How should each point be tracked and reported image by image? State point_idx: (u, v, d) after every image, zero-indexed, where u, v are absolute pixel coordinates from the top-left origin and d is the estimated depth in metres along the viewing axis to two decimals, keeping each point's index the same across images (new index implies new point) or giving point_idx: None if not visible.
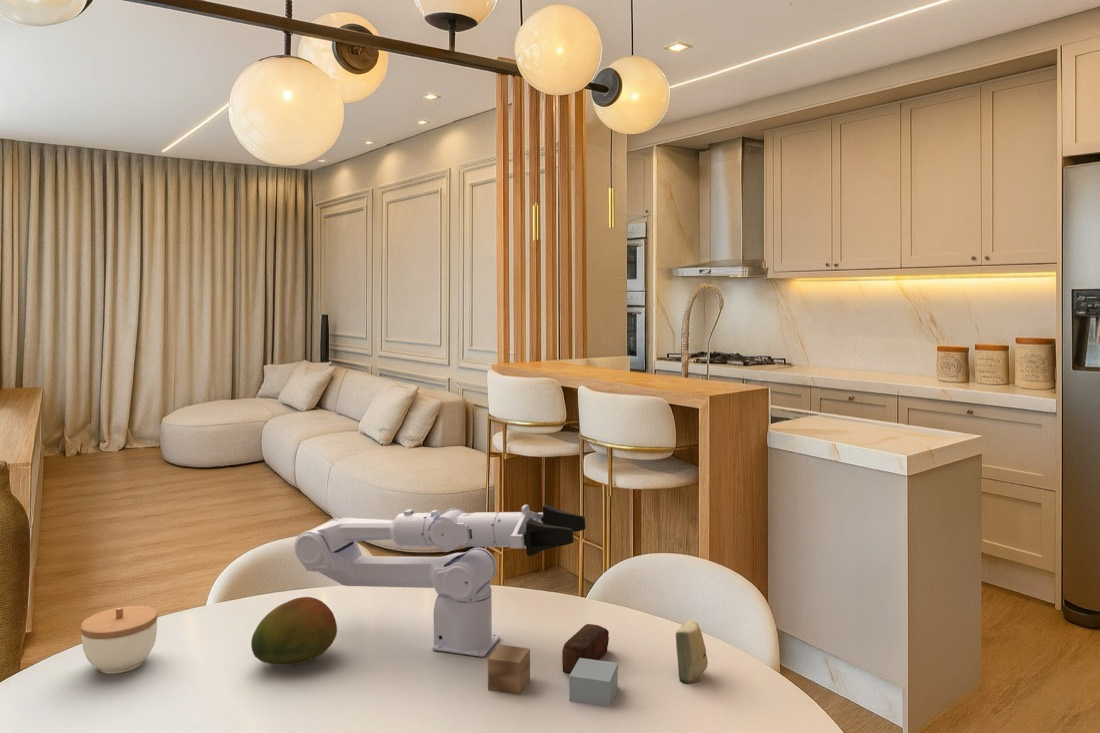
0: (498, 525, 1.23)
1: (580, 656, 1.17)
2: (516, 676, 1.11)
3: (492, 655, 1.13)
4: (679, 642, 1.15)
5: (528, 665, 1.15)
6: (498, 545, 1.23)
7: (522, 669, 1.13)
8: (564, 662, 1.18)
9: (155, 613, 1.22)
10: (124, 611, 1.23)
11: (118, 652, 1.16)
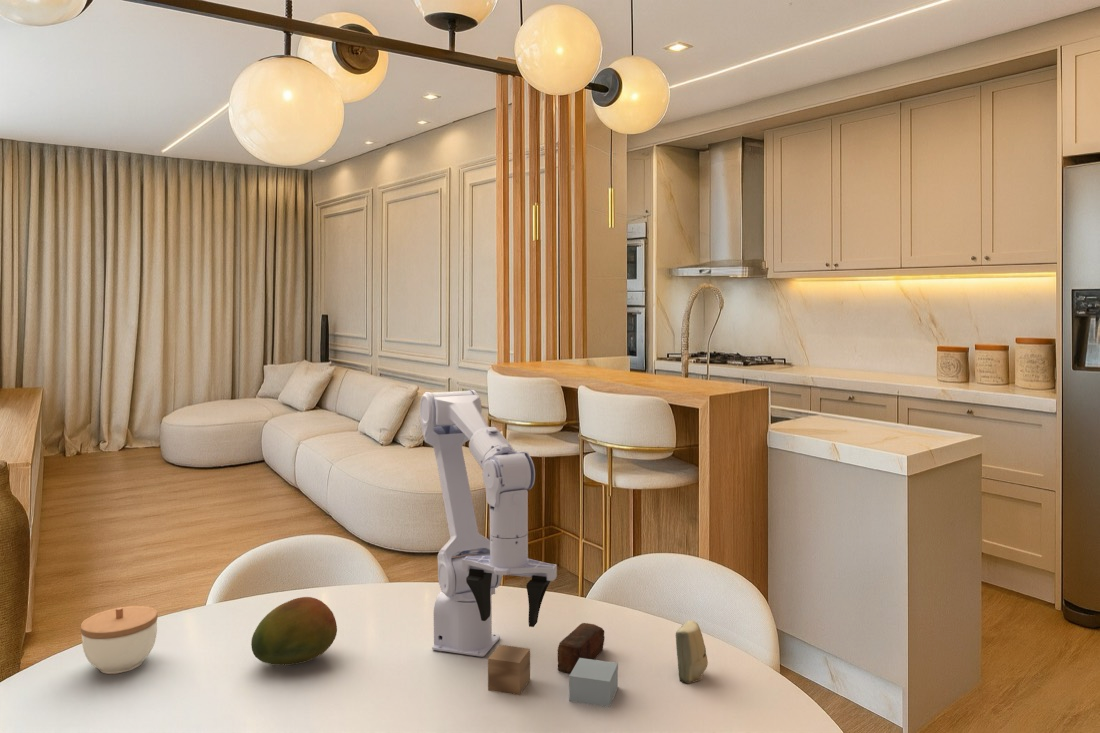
0: (490, 539, 1.12)
1: (575, 655, 1.17)
2: (516, 676, 1.11)
3: (492, 655, 1.13)
4: (679, 642, 1.15)
5: (528, 665, 1.15)
6: None
7: (522, 669, 1.13)
8: (559, 661, 1.19)
9: (155, 613, 1.22)
10: (124, 611, 1.23)
11: (118, 652, 1.16)
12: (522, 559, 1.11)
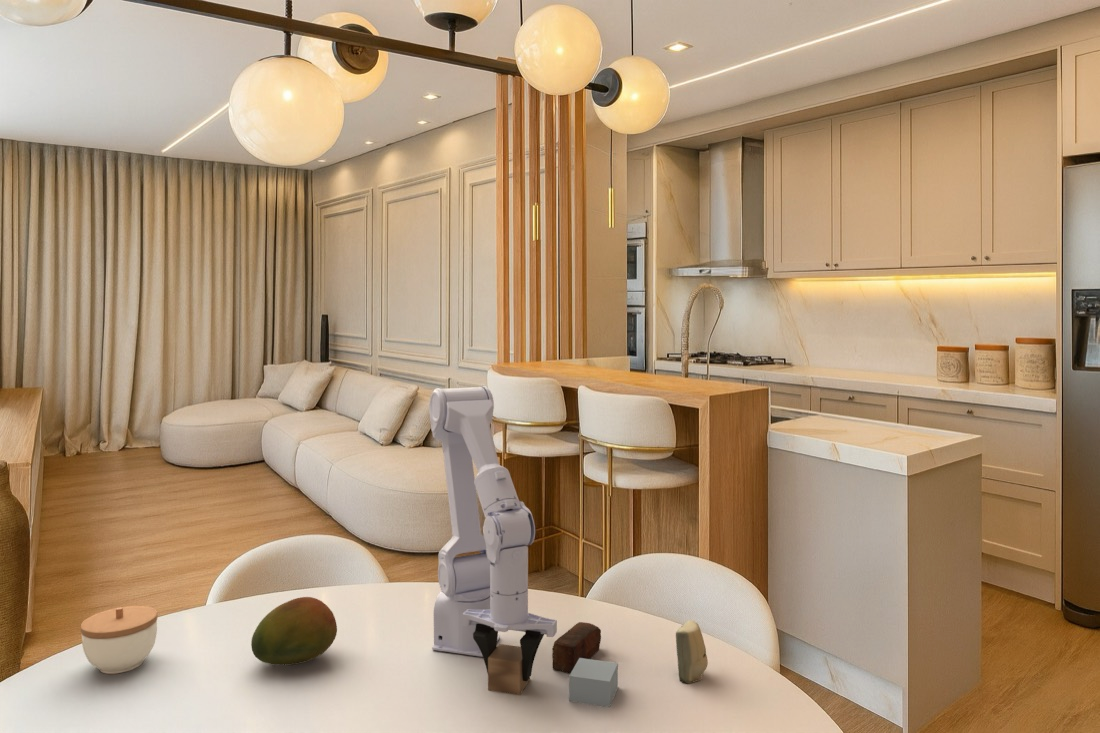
0: (490, 594, 1.13)
1: (569, 654, 1.18)
2: (516, 675, 1.11)
3: (492, 655, 1.13)
4: (679, 642, 1.15)
5: None
6: None
7: None
8: (554, 659, 1.19)
9: (155, 613, 1.22)
10: (124, 611, 1.23)
11: (118, 652, 1.16)
12: (522, 615, 1.12)
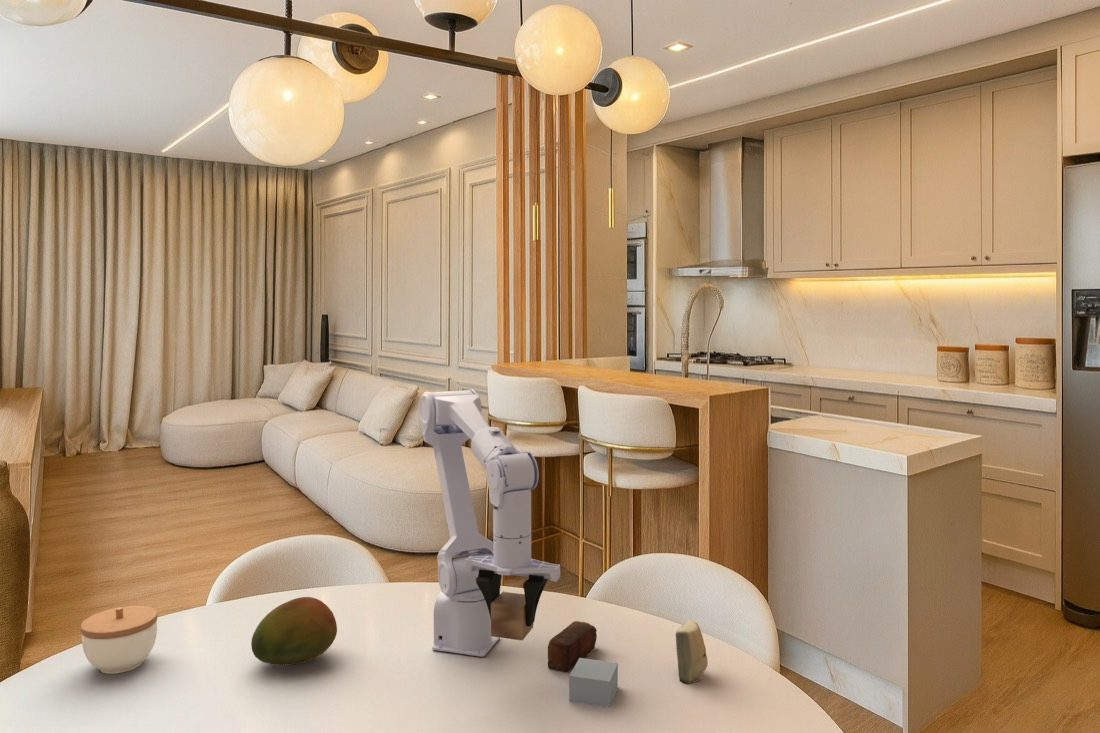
0: (493, 539, 1.12)
1: (565, 653, 1.18)
2: (519, 621, 1.11)
3: (495, 601, 1.13)
4: (679, 642, 1.15)
5: None
6: None
7: (525, 614, 1.12)
8: (549, 658, 1.20)
9: (155, 613, 1.22)
10: (124, 611, 1.23)
11: (118, 652, 1.16)
12: (525, 559, 1.11)
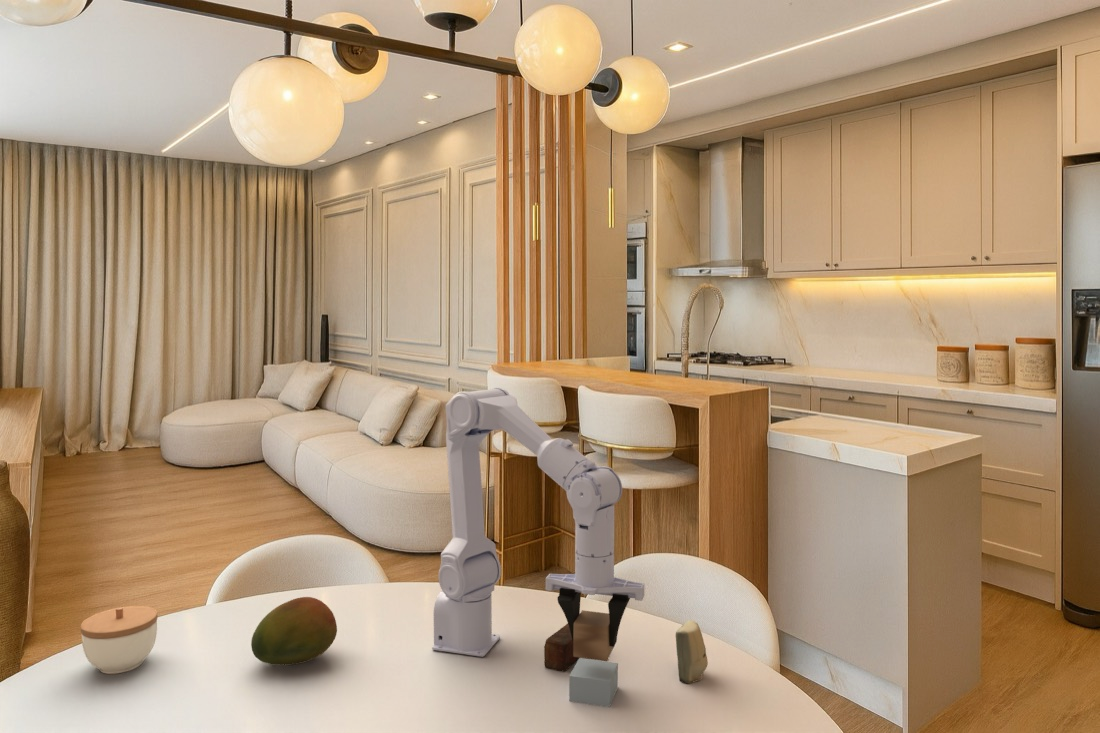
0: (575, 557, 1.10)
1: (561, 652, 1.18)
2: (604, 641, 1.08)
3: (577, 620, 1.10)
4: (679, 642, 1.15)
5: None
6: None
7: None
8: (546, 657, 1.20)
9: (155, 613, 1.22)
10: (124, 611, 1.23)
11: (118, 652, 1.16)
12: (609, 578, 1.09)
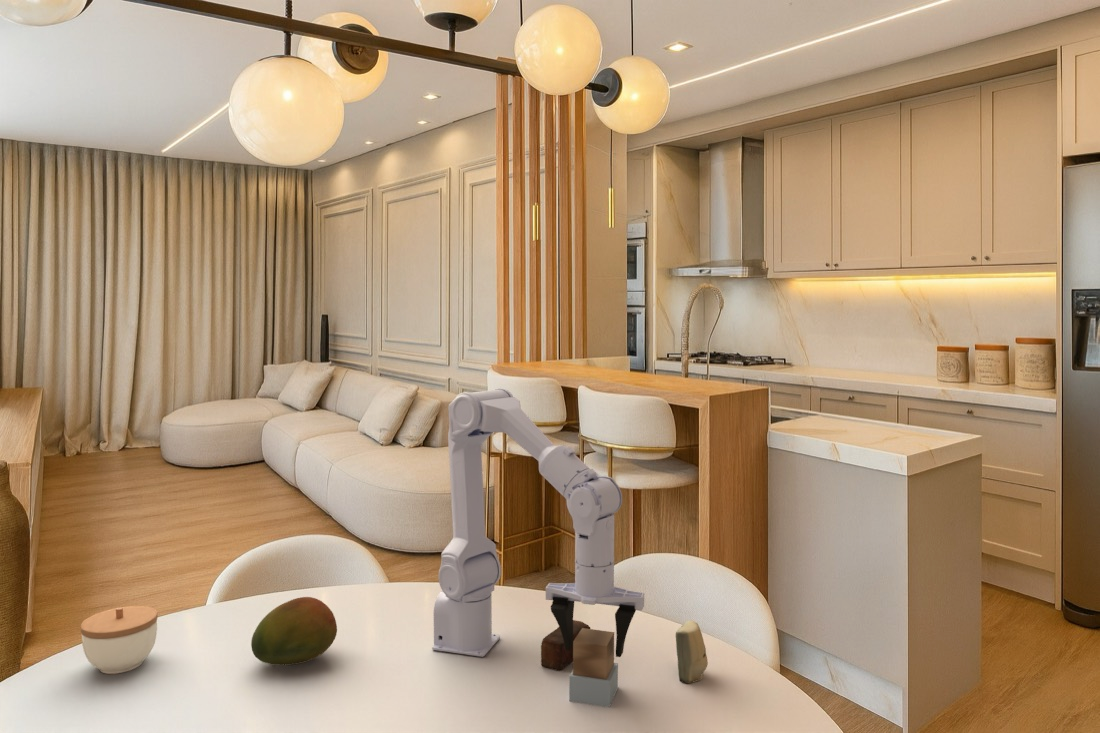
0: (575, 567, 1.10)
1: (558, 651, 1.19)
2: (603, 659, 1.08)
3: (577, 638, 1.10)
4: (679, 642, 1.15)
5: (612, 649, 1.12)
6: None
7: (608, 652, 1.09)
8: (542, 656, 1.20)
9: (155, 613, 1.22)
10: (124, 611, 1.23)
11: (118, 652, 1.16)
12: (609, 588, 1.09)
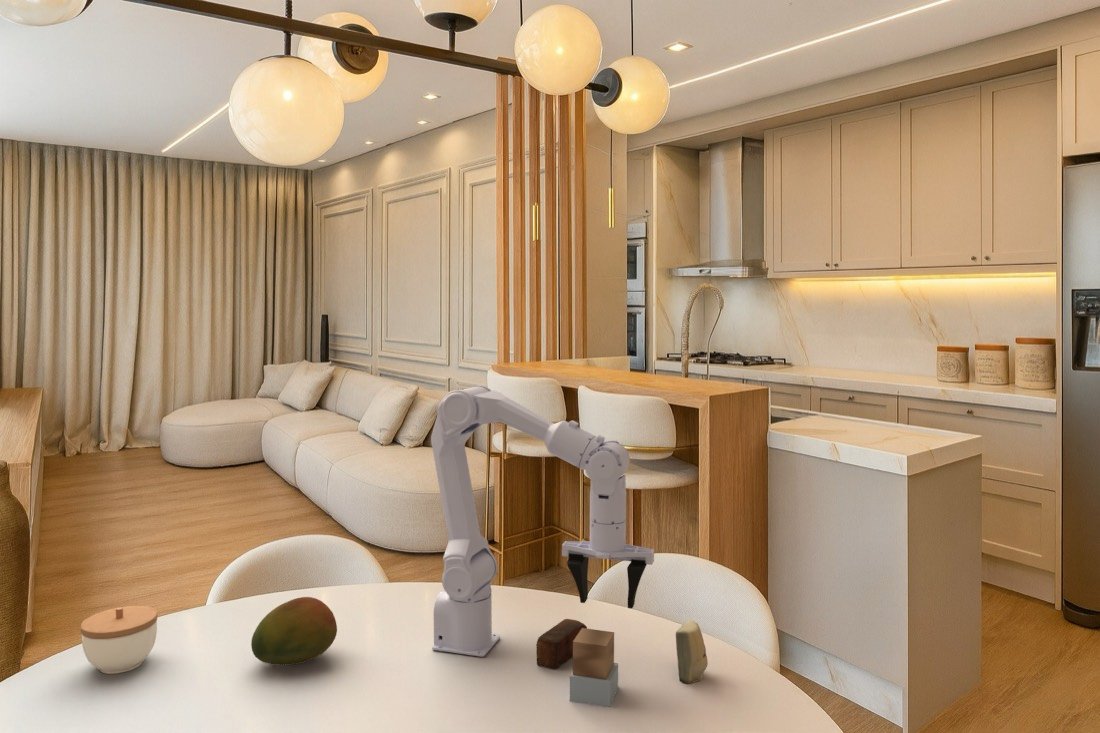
0: (590, 525, 1.18)
1: (553, 650, 1.19)
2: (603, 660, 1.08)
3: (577, 639, 1.10)
4: (679, 642, 1.15)
5: (612, 649, 1.12)
6: None
7: (608, 652, 1.09)
8: (538, 655, 1.21)
9: (155, 613, 1.22)
10: (124, 611, 1.23)
11: (118, 652, 1.16)
12: (622, 544, 1.17)
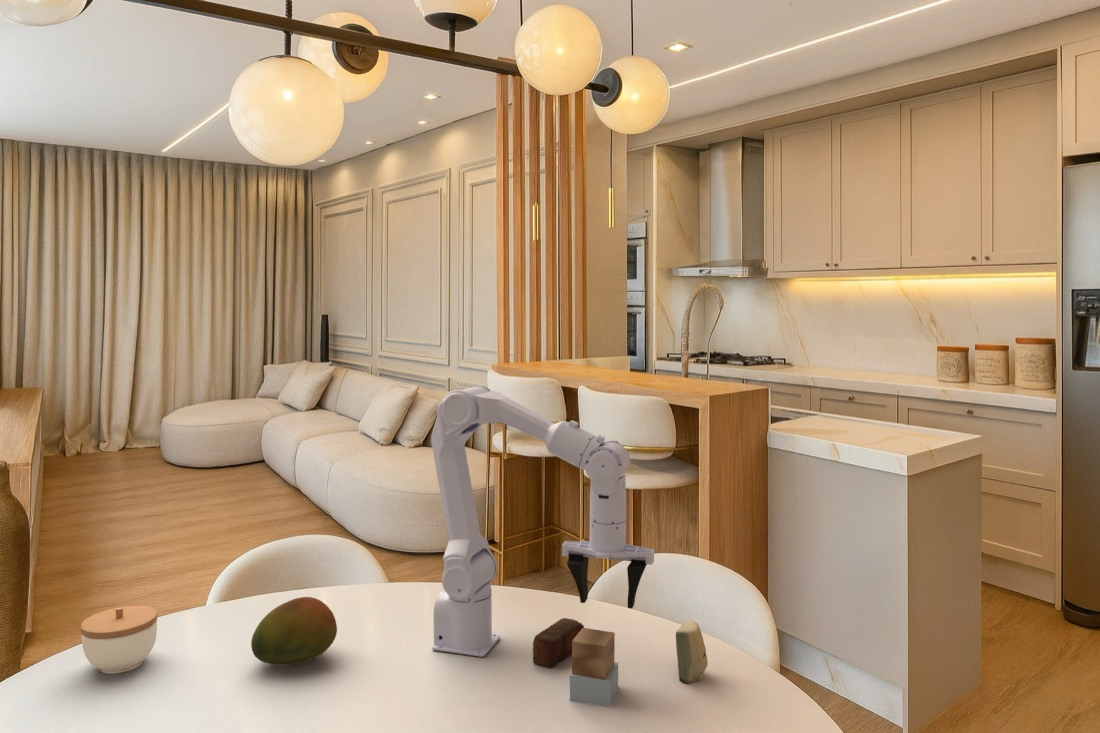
0: (590, 525, 1.18)
1: (549, 648, 1.20)
2: (601, 660, 1.08)
3: (576, 638, 1.10)
4: (679, 642, 1.15)
5: (613, 649, 1.12)
6: None
7: (607, 653, 1.09)
8: (534, 654, 1.21)
9: (155, 613, 1.22)
10: (124, 611, 1.23)
11: (118, 652, 1.16)
12: (622, 544, 1.17)
